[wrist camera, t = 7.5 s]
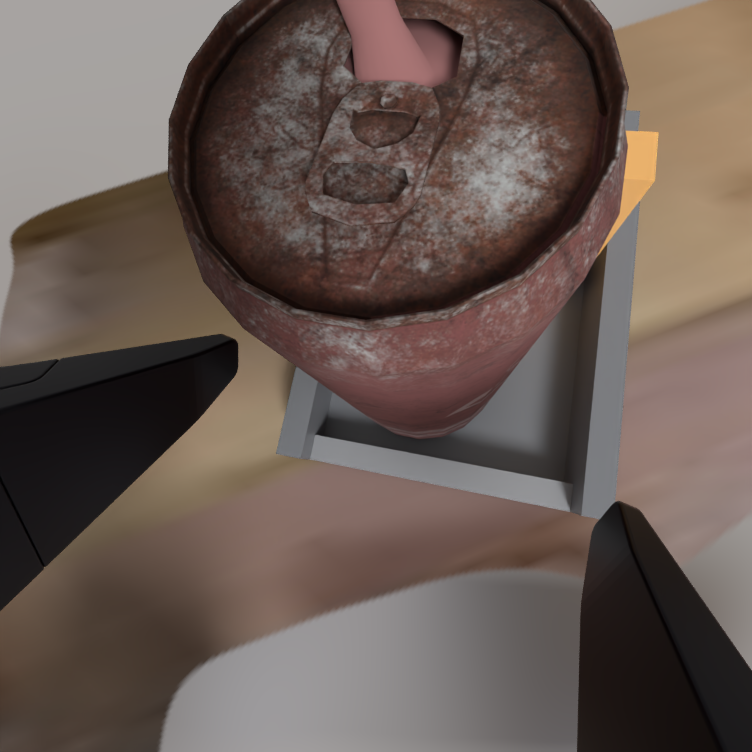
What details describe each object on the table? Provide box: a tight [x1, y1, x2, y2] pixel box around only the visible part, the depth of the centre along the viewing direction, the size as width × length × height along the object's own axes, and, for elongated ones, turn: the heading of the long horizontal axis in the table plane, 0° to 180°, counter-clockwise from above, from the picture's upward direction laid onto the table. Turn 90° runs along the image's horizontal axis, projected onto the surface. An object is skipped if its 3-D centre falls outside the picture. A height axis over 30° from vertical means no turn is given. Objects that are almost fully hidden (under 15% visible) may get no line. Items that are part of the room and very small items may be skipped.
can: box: [168, 0, 629, 439], centre depth 12 cm, size 6×6×14 cm
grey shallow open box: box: [276, 110, 640, 519], centre depth 17 cm, size 14×12×5 cm
